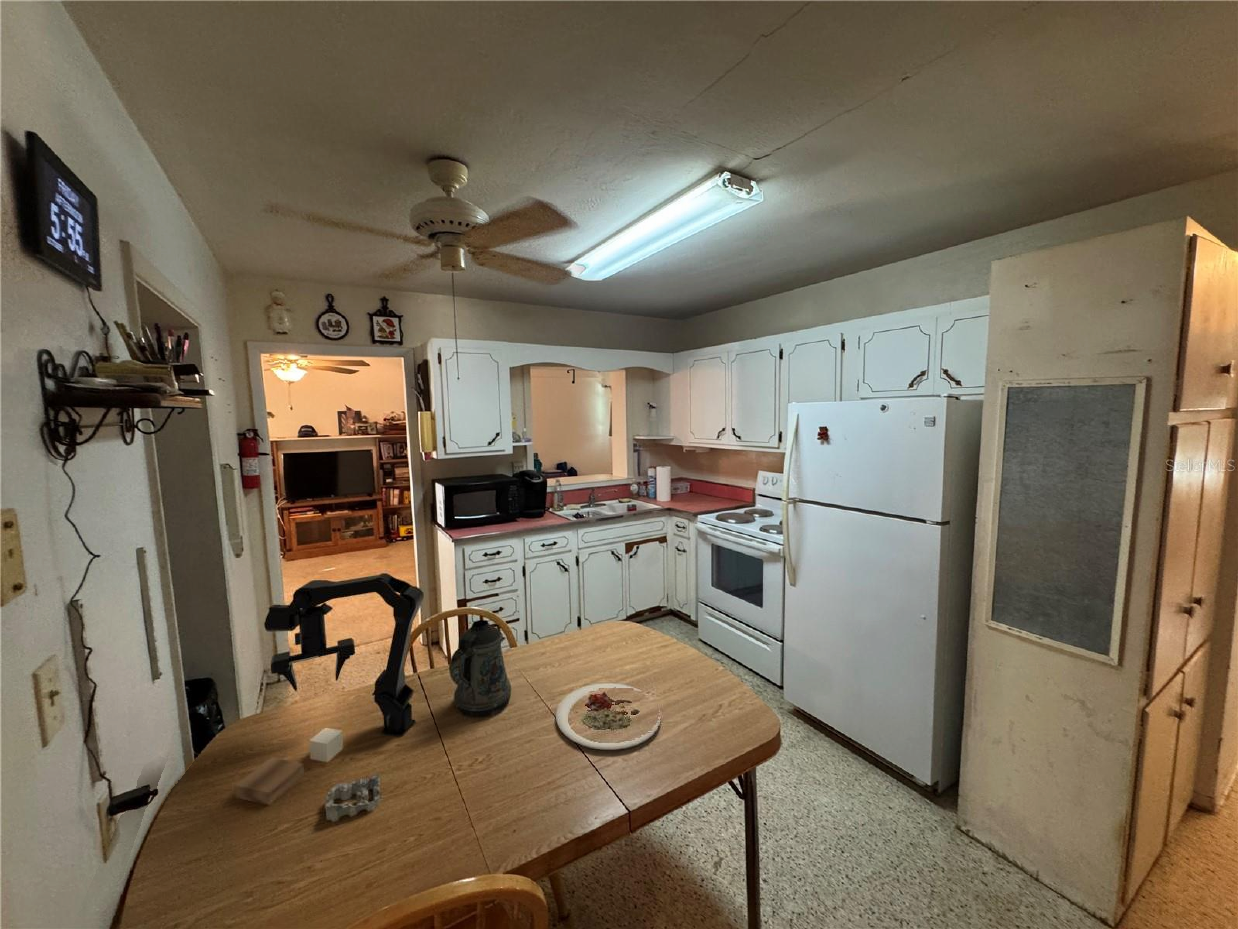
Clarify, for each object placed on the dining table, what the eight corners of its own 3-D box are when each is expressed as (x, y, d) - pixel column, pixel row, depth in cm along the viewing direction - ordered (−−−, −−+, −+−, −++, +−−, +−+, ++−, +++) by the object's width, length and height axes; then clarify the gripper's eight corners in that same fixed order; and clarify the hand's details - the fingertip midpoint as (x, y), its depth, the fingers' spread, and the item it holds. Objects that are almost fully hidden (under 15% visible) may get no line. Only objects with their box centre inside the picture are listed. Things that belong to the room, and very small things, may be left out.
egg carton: (323, 826, 102) (322, 808, 102) (329, 799, 109) (328, 783, 109) (379, 811, 106) (378, 794, 106) (382, 786, 113) (381, 770, 113)
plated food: (618, 772, 119) (618, 760, 119) (533, 723, 137) (533, 712, 137) (680, 713, 143) (680, 703, 143) (601, 678, 161) (601, 668, 161)
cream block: (342, 749, 125) (342, 730, 124) (327, 762, 120) (326, 743, 120) (326, 745, 126) (325, 727, 125) (310, 759, 121) (309, 740, 121)
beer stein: (515, 686, 155) (515, 611, 152) (503, 726, 135) (502, 640, 133) (463, 686, 154) (462, 610, 151) (443, 725, 135) (441, 639, 132)
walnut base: (303, 775, 116) (303, 763, 115) (269, 805, 107) (268, 792, 107) (272, 769, 117) (271, 757, 117) (236, 797, 109) (235, 785, 108)
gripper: (350, 611, 140) (354, 662, 142) (271, 626, 130) (276, 681, 132) (353, 625, 131) (357, 680, 133) (268, 643, 121) (273, 702, 123)
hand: (316, 685), depth 130 cm, fingers open, 9 cm apart
